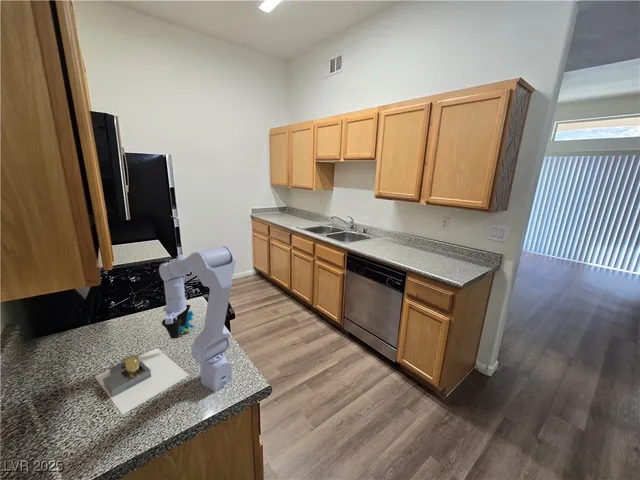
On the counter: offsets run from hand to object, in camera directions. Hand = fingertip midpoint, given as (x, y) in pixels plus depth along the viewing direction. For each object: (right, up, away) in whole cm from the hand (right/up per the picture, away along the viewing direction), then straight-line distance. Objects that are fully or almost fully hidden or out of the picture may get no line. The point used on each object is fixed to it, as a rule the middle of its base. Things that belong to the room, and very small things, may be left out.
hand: (178, 331), depth 92 cm
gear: (-6, -6, +17) cm, 19 cm away
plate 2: (-9, -11, -12) cm, 19 cm away
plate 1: (-10, -10, -9) cm, 17 cm away
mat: (-6, -12, -9) cm, 16 cm away
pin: (-8, -11, -11) cm, 17 cm away
